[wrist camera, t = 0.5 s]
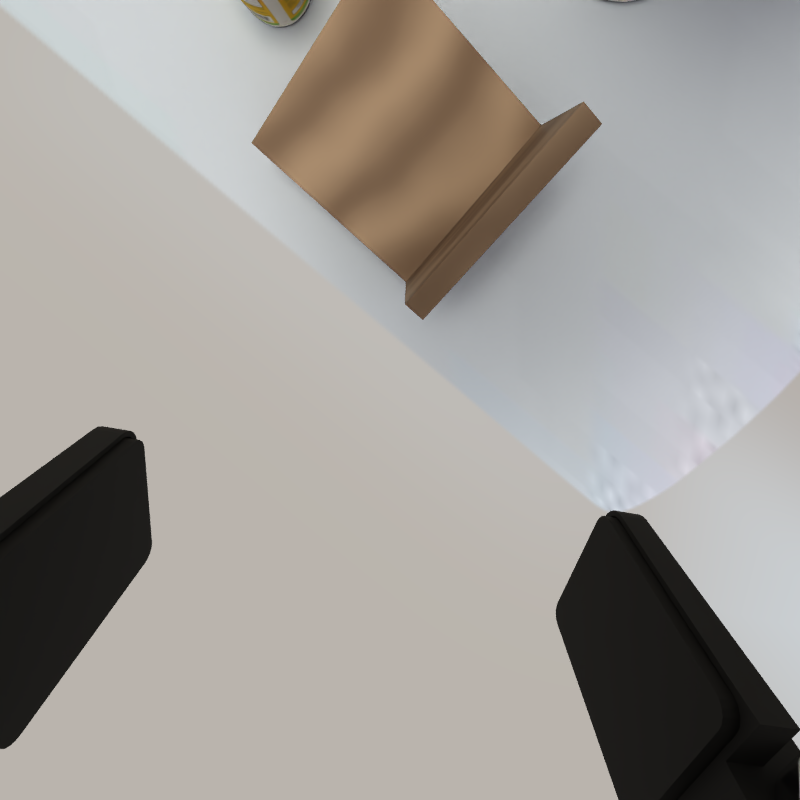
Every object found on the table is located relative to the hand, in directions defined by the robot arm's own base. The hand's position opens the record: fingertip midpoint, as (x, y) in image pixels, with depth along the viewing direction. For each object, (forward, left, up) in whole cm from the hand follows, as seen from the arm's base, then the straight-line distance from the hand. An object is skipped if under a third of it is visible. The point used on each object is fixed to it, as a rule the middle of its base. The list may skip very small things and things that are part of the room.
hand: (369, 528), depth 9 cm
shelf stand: (-10, +2, -34) cm, 35 cm away
